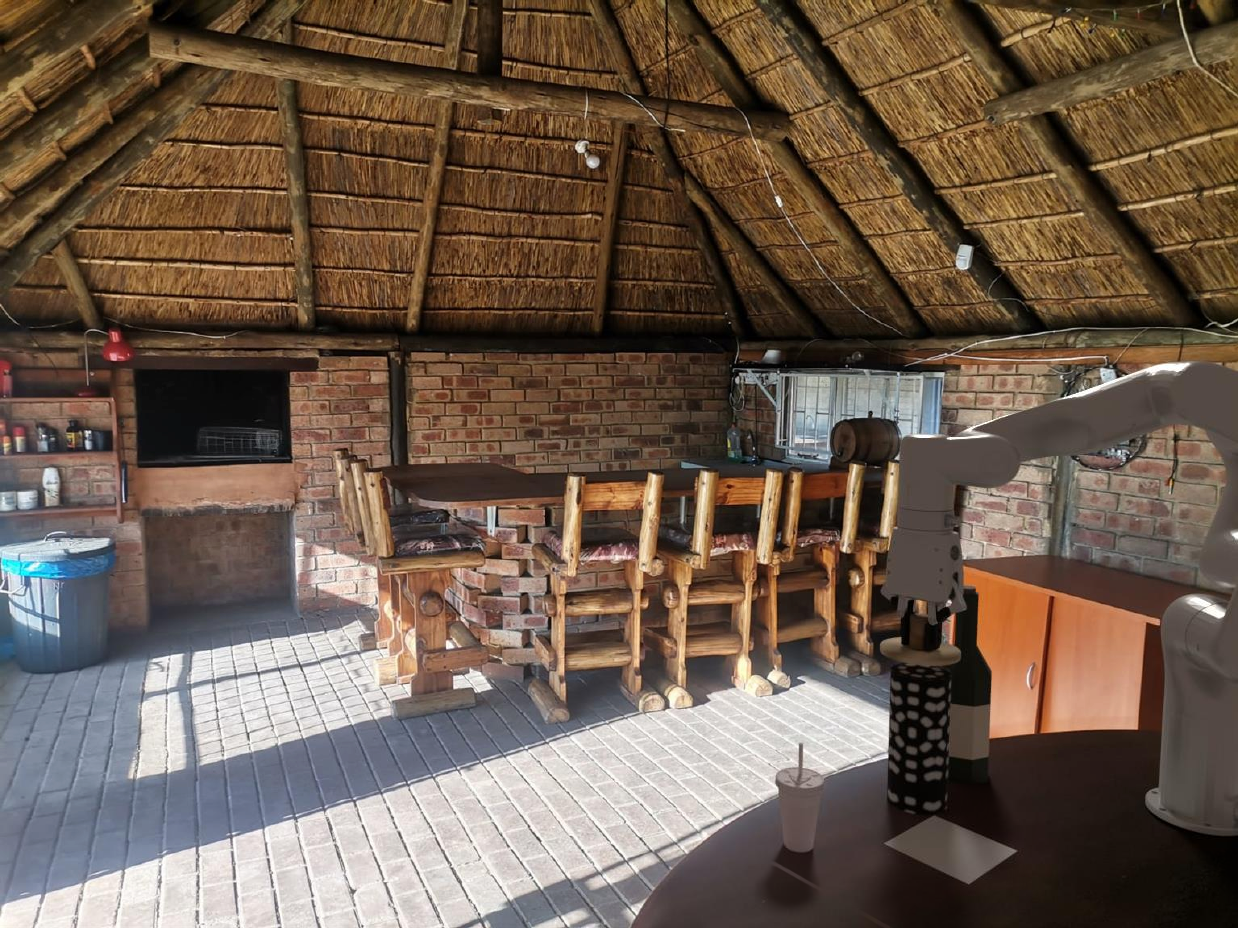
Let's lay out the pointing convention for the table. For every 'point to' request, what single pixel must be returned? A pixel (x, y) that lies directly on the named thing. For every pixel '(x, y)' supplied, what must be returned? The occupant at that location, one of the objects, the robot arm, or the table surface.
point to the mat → (951, 849)
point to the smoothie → (799, 804)
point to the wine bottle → (969, 700)
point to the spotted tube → (919, 738)
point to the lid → (919, 647)
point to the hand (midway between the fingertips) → (920, 645)
